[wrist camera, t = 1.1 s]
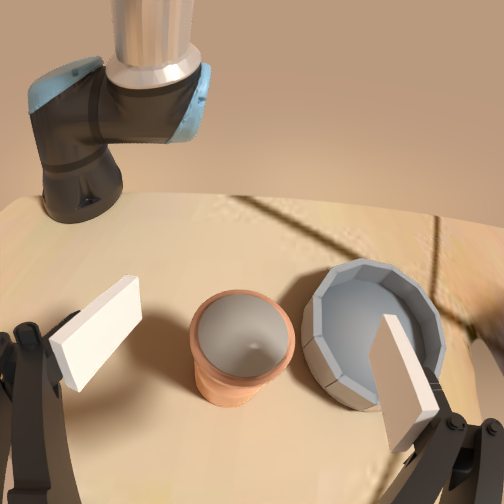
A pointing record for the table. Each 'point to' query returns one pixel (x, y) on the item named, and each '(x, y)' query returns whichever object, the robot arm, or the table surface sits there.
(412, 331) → the slate bowl
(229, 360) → the terracotta jar
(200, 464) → the table surface
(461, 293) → the table surface
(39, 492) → the robot arm
